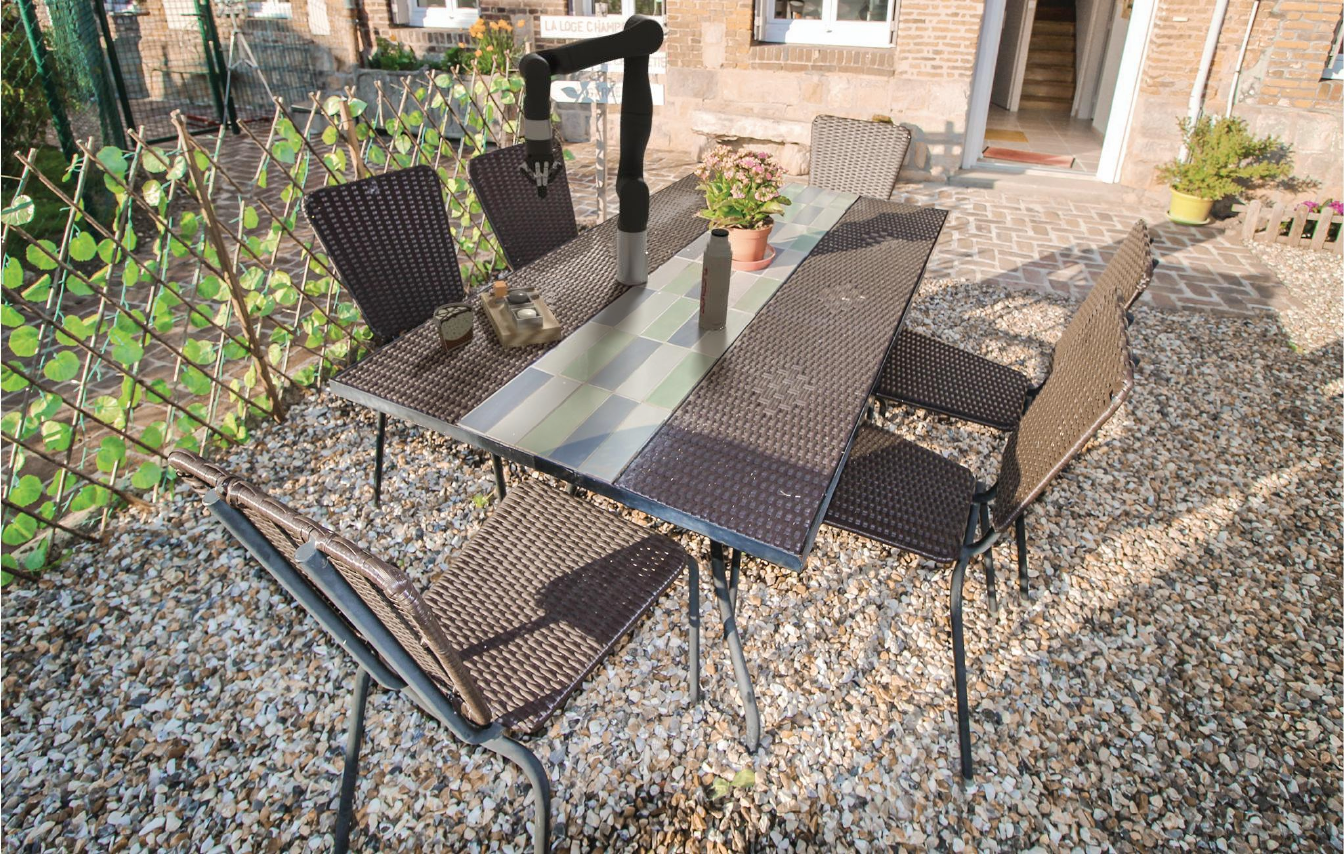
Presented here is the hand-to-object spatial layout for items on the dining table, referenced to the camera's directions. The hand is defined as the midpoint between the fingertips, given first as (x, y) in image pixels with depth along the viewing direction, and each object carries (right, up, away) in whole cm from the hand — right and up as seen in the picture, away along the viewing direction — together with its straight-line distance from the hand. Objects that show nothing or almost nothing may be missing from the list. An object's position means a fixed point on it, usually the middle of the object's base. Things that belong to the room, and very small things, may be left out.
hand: (541, 198), depth 213 cm
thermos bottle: (+49, -36, +3) cm, 61 cm away
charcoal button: (-6, -30, -6) cm, 31 cm away
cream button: (-2, -37, -11) cm, 38 cm away
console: (-6, -36, -2) cm, 37 cm away
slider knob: (-12, -28, +2) cm, 31 cm away
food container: (-22, -43, -13) cm, 50 cm away
